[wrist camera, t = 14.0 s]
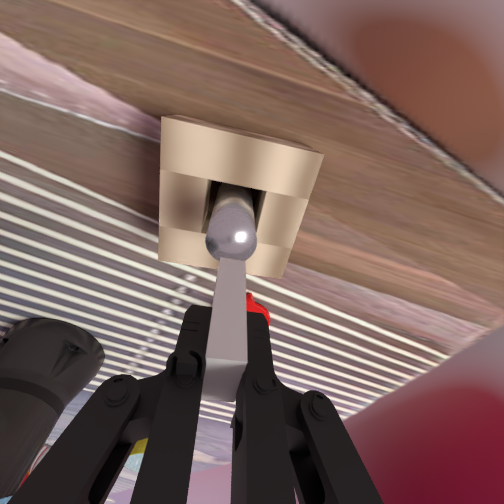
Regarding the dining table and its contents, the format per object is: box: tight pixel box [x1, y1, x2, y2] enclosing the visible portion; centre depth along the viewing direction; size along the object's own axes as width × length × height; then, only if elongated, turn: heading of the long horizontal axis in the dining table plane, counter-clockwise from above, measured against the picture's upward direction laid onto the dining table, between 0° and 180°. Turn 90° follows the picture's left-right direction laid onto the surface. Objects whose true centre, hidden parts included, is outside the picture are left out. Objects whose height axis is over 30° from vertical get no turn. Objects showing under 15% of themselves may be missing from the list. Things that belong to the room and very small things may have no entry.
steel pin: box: [205, 182, 257, 261], centre depth 24 cm, size 4×4×12 cm
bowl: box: [124, 438, 148, 472], centre depth 56 cm, size 11×12×6 cm
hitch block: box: [158, 115, 324, 279], centre depth 26 cm, size 14×14×6 cm
